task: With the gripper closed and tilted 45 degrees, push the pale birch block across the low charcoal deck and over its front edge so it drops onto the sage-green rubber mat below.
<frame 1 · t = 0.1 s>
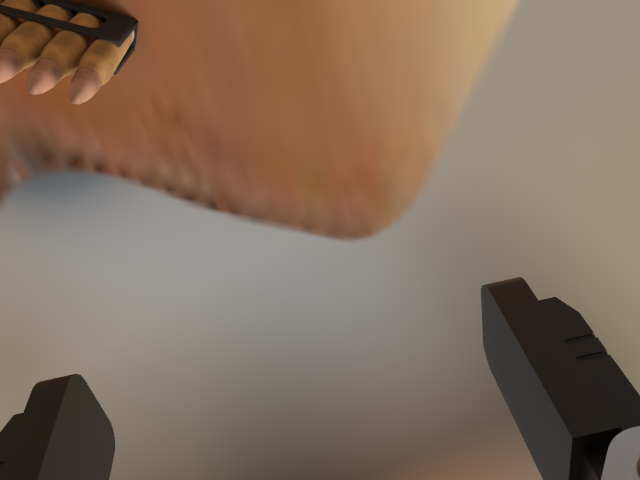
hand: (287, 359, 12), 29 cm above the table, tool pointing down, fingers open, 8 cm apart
ammunition clip: (43, 9, 35), on the table
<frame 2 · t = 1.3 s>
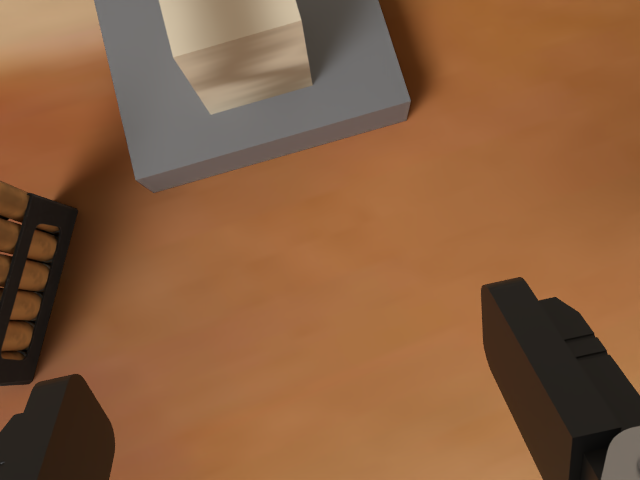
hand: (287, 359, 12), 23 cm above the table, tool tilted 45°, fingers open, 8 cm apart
deck: (255, 68, 37), on the table
ammunition clip: (42, 292, 36), on the table
birch block: (250, 60, 34), point 3 cm above the table, touching deck
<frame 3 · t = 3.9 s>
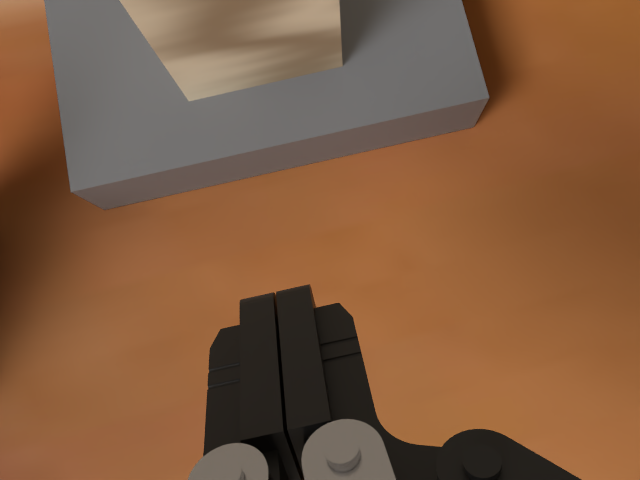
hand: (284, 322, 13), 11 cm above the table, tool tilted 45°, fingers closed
deck: (260, 41, 26), on the table
birch block: (253, 25, 23), point 3 cm above the table, touching deck
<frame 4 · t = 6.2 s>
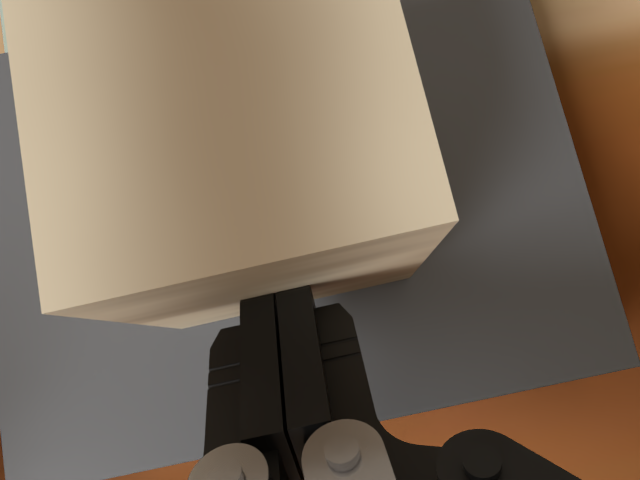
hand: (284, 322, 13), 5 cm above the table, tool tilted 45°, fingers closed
deck: (287, 225, 19), on the table
birch block: (276, 210, 16), point 3 cm above the table, touching gripper
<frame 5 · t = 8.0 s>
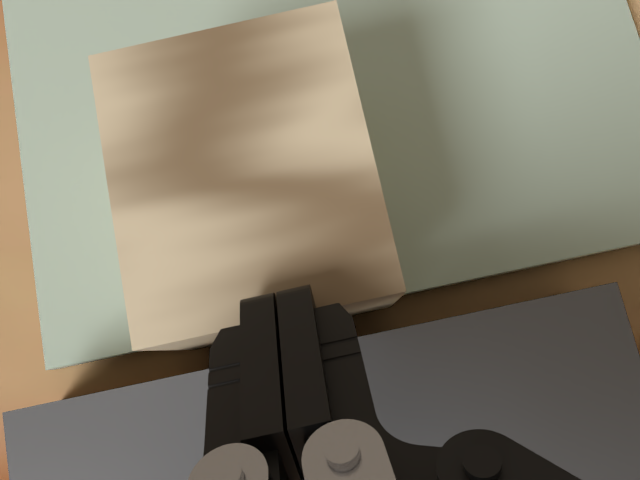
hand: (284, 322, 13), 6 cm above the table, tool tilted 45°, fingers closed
mat: (318, 65, 20), on the table
birch block: (282, 325, 15), point 3 cm above the table, tilted 90°, touching gripper, mat
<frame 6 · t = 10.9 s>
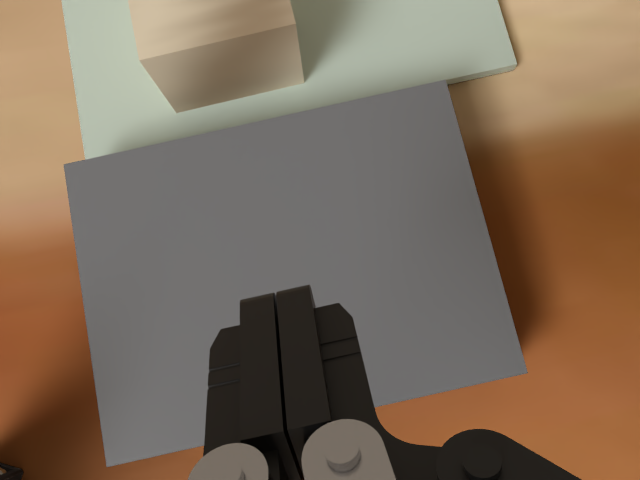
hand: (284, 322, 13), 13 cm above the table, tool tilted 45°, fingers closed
deck: (291, 273, 26), on the table
birch block: (230, 72, 24), point 3 cm above the table, tilted 90°, touching mat
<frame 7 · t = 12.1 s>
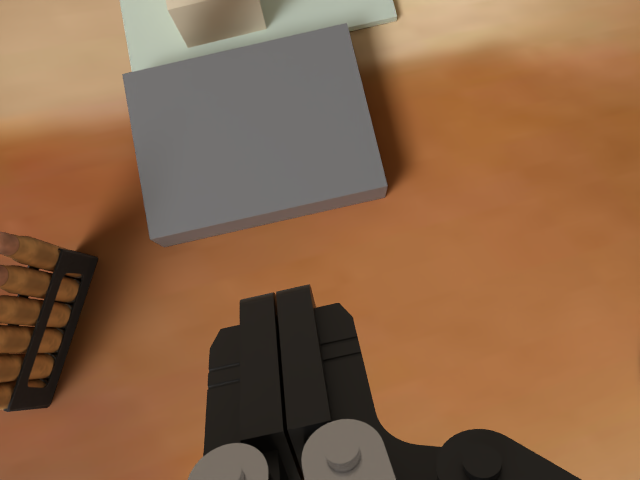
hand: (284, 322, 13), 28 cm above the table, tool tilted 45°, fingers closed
deck: (257, 143, 43), on the table
ammunition clip: (63, 327, 41), on the table
birch block: (220, 20, 41), point 3 cm above the table, tilted 90°, touching mat
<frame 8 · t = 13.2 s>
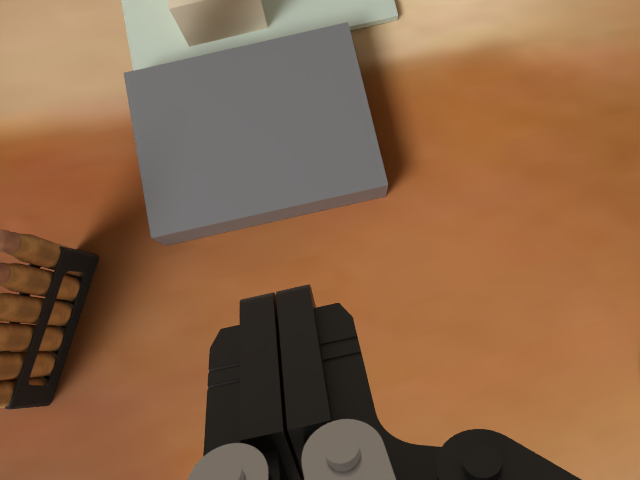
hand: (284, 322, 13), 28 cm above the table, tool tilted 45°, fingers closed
deck: (258, 142, 43), on the table
ammunition clip: (64, 325, 41), on the table
birch block: (221, 19, 41), point 3 cm above the table, tilted 90°, touching mat
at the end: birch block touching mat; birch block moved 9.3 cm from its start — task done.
